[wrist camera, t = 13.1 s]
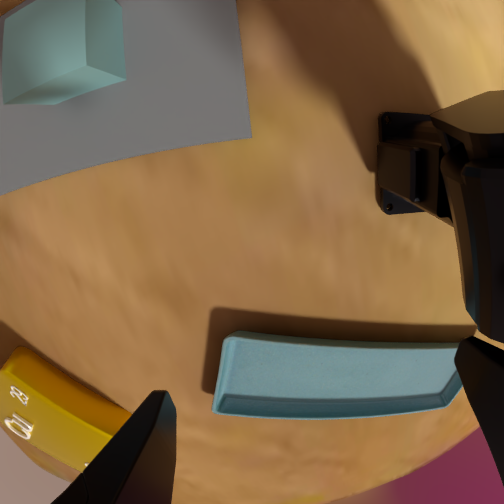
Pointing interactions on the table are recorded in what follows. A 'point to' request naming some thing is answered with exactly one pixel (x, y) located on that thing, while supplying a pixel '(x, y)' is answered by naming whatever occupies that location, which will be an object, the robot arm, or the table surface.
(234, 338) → the teal serving tray
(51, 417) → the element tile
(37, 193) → the table surface
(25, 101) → the teal cube
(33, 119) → the slate mat
